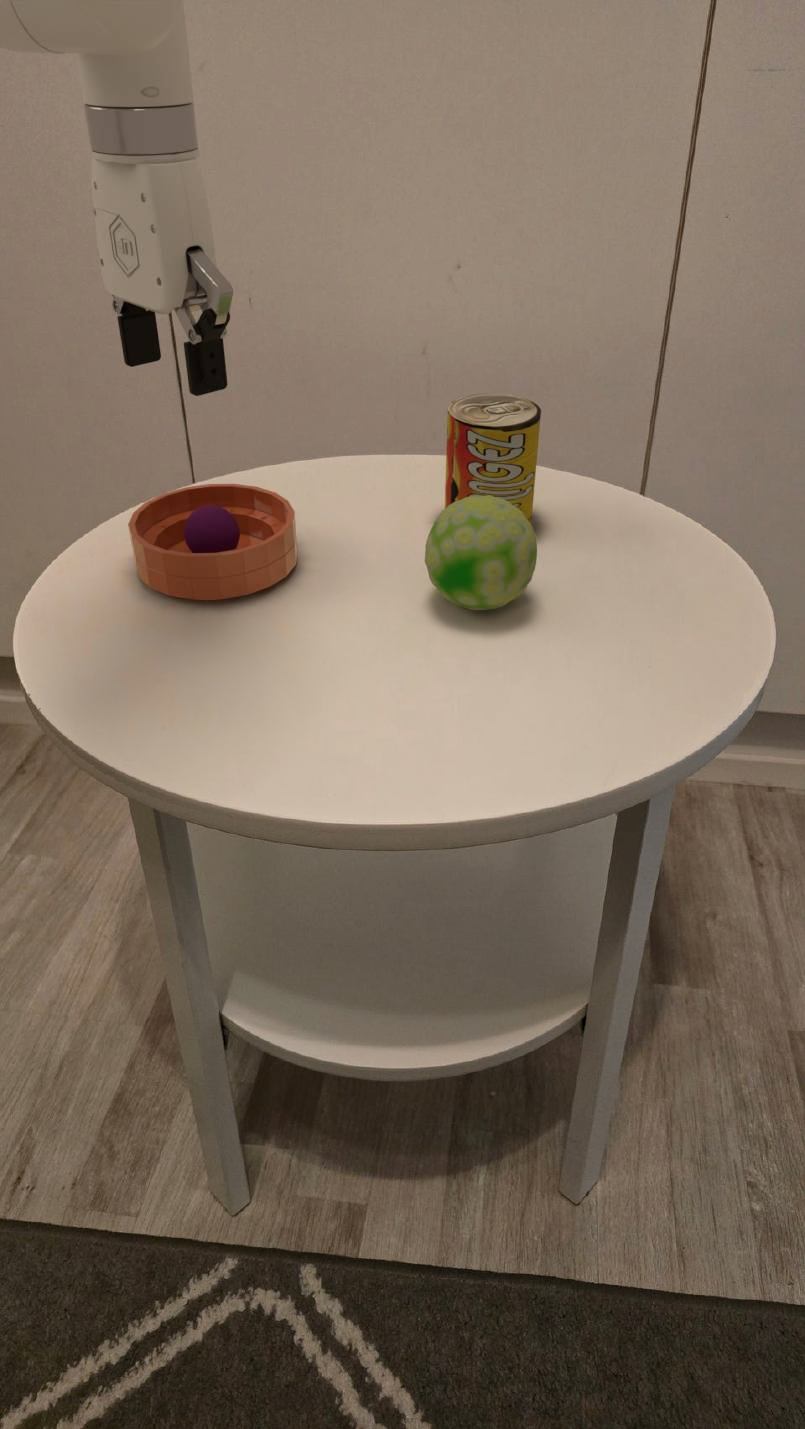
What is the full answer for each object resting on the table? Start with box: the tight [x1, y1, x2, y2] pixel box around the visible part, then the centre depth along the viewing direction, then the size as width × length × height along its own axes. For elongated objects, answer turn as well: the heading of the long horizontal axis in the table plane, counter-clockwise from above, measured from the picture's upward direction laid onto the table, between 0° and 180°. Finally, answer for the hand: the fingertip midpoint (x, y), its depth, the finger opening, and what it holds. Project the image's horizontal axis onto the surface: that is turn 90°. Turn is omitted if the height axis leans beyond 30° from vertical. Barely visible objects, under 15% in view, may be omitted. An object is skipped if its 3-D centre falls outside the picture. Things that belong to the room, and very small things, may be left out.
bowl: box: [127, 483, 298, 601], centre depth 93 cm, size 15×15×5 cm
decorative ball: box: [424, 495, 538, 611], centre depth 86 cm, size 10×10×10 cm
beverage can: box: [444, 393, 542, 525], centre depth 98 cm, size 9×9×12 cm
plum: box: [184, 505, 240, 553], centre depth 93 cm, size 5×5×5 cm
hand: (175, 376), depth 80 cm, fingers open, 9 cm apart
